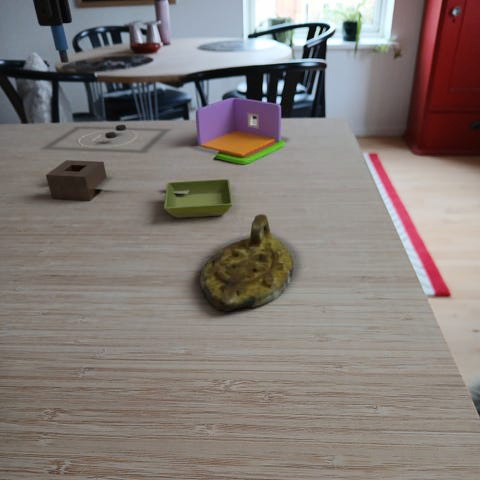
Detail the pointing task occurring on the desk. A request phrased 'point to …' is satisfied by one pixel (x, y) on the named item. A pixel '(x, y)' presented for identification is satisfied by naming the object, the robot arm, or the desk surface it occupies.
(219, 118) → the miniature room corner
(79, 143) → the ring
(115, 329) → the desk surface
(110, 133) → the dot
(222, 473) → the desk surface
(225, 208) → the green rectangular tray
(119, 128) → the dot
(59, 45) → the blue rod
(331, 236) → the desk surface
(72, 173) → the stand
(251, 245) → the seal
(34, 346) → the desk surface
